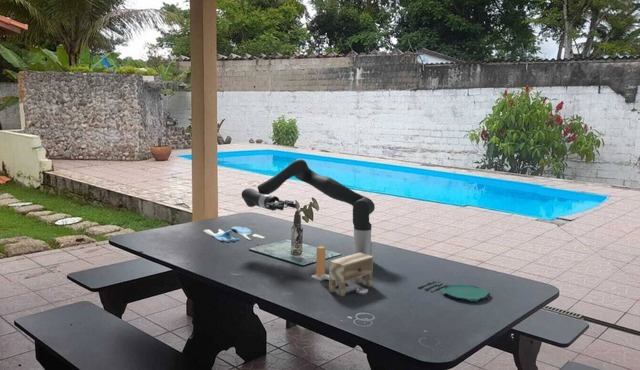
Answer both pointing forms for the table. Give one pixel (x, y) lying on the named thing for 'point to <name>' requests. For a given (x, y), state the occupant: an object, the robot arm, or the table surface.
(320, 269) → the orange post on base
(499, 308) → the table surface
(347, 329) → the table surface
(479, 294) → the cutlery set
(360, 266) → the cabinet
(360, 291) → the steel disc
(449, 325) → the table surface
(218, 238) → the rubber gloves
